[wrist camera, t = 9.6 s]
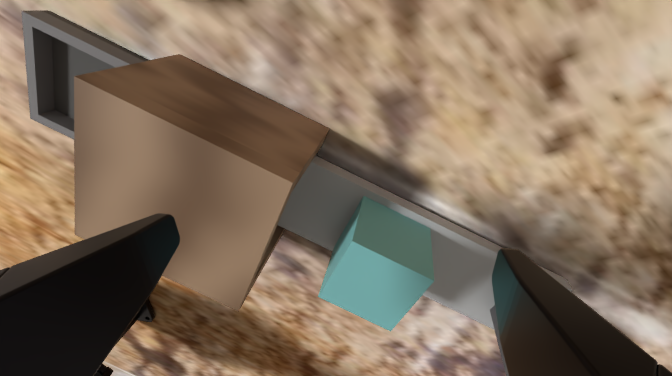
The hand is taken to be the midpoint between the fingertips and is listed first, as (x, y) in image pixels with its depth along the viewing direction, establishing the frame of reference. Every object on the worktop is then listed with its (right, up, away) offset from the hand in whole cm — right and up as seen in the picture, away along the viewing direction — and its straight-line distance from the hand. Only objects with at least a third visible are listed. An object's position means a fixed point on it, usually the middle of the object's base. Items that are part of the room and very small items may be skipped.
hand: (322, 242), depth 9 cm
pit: (-15, +8, +13) cm, 22 cm away
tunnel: (-6, +4, +13) cm, 15 cm away
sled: (+5, -2, +14) cm, 15 cm away
